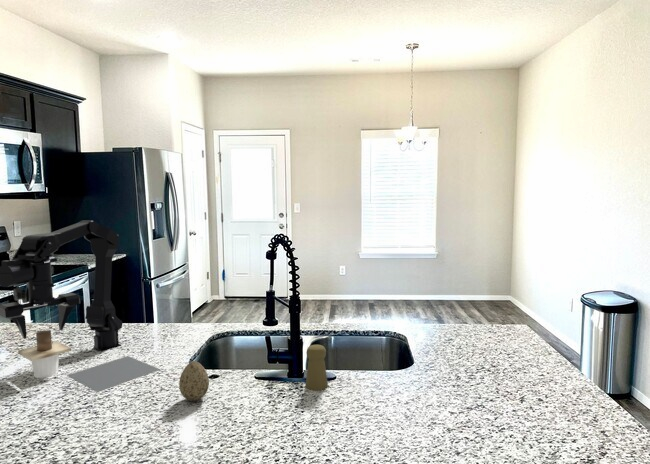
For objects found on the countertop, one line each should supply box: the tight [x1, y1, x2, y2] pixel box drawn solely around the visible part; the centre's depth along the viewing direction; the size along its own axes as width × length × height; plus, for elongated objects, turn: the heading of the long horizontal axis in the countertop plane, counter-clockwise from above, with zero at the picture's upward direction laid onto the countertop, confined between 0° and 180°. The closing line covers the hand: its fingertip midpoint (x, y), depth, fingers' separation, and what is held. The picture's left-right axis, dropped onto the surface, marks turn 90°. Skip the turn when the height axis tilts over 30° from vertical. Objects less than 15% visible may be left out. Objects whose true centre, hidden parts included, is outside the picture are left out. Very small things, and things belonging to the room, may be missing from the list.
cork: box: [305, 344, 329, 392], centre depth 116 cm, size 6×6×11 cm
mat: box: [66, 355, 161, 393], centre depth 126 cm, size 18×18×1 cm
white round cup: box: [31, 354, 60, 379], centre depth 125 cm, size 7×7×7 cm
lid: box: [17, 329, 72, 362], centre depth 124 cm, size 10×10×6 cm
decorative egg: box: [178, 360, 210, 402], centre depth 109 cm, size 7×7×10 cm
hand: (43, 334), depth 124 cm, fingers open, 9 cm apart
